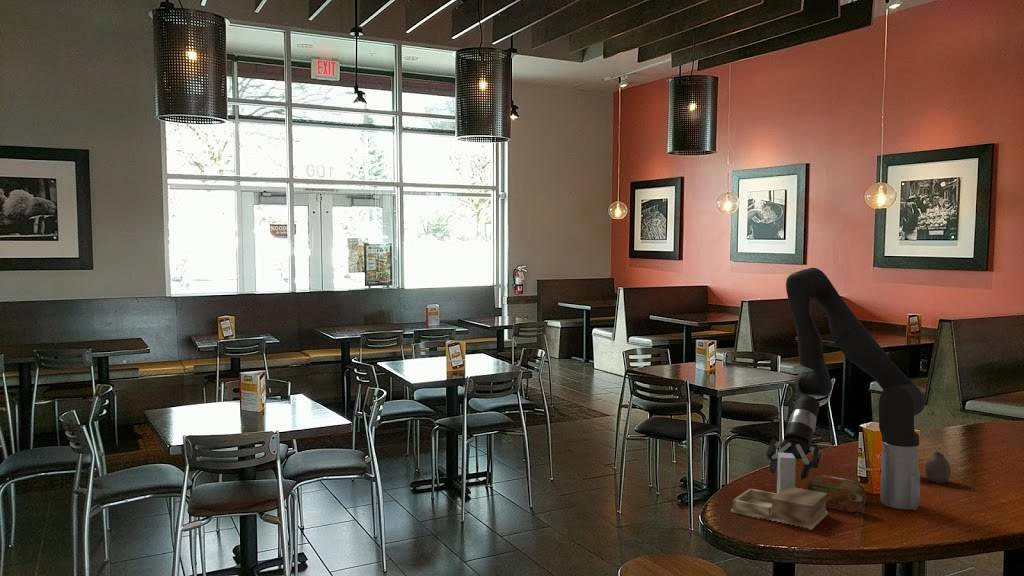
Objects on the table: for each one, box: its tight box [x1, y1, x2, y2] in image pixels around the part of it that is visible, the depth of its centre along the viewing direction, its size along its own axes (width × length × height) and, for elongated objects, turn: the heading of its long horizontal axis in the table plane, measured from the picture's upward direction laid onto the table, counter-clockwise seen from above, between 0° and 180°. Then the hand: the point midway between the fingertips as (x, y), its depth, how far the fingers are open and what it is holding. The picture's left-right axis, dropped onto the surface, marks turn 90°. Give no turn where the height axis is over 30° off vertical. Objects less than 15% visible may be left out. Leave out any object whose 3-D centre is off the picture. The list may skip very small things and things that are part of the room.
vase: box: [924, 451, 952, 484], centre depth 231 cm, size 7×7×9 cm
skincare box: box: [776, 452, 797, 494], centre depth 217 cm, size 6×4×12 cm
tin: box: [806, 474, 867, 513], centre depth 208 cm, size 15×3×8 cm, turn 49°
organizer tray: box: [730, 486, 828, 530], centre depth 203 cm, size 21×14×6 cm, turn 52°
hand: (787, 475), depth 218 cm, fingers open, 8 cm apart
